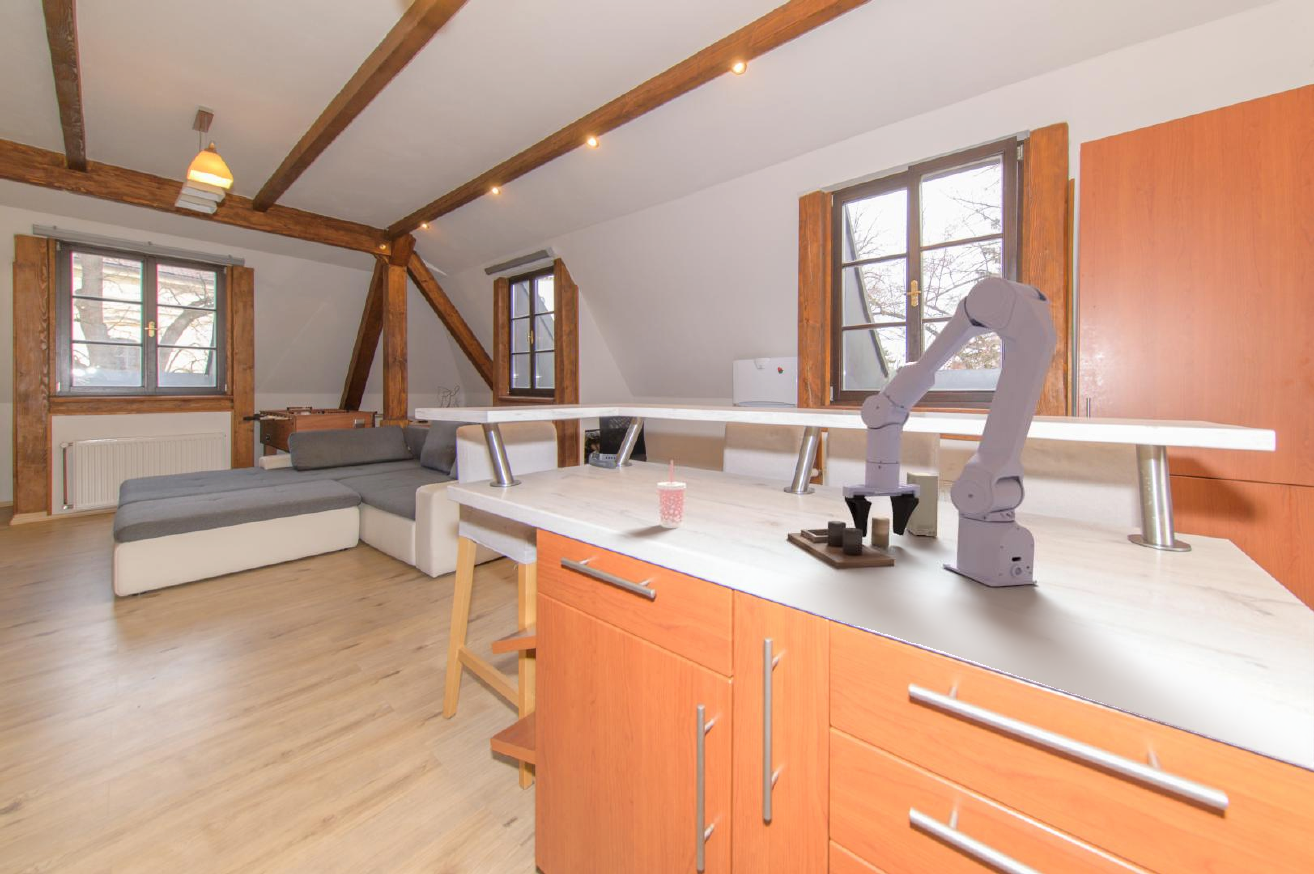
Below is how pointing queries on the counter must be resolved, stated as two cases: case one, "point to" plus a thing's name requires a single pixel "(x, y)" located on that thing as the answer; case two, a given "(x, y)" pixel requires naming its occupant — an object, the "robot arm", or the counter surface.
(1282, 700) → the counter surface
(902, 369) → the robot arm
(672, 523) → the beverage cup
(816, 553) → the pin board
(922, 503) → the skincare box
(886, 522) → the maple pin
